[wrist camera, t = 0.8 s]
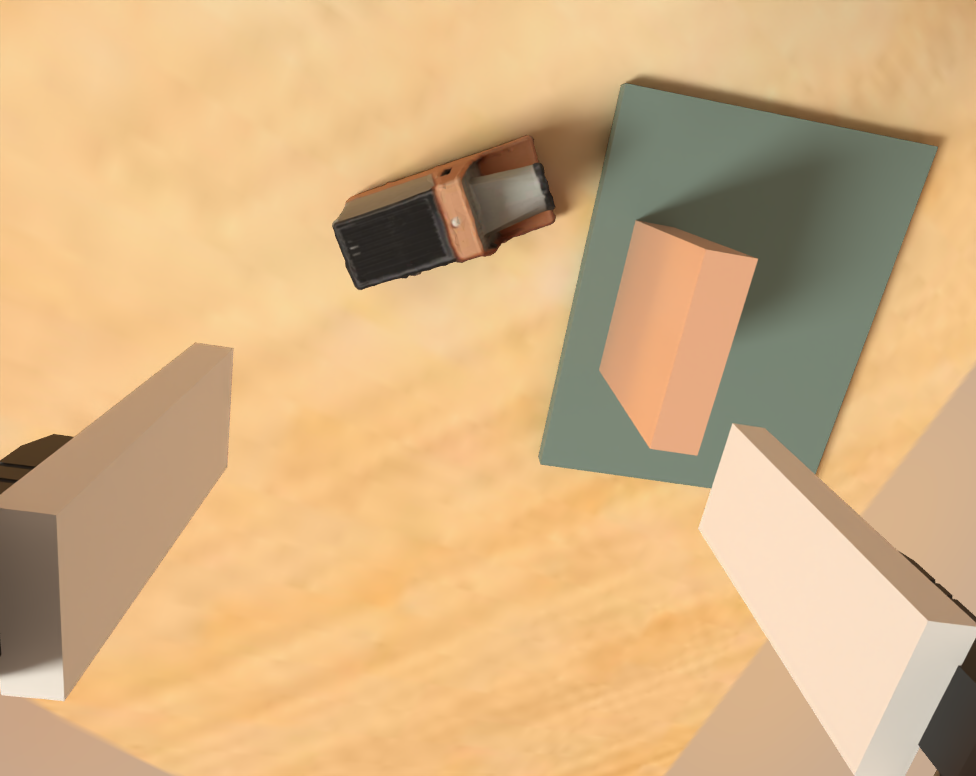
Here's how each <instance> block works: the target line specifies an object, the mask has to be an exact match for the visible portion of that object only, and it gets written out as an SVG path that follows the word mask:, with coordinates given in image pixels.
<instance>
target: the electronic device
mask: <svg viewBox="0 0 976 776" xmlns="http://www.w3.org/2000/svg"><path fill="white" fill-rule="evenodd" d="M533 142H534V139H533V138H532V137H531V136H527V135H525V136H523V137H521V138H519V139H516V140H513V141H510V142H508V143H505V144H503V145H500V146H497V147H494V148H491V149H488V150H485V151H482V152H480V153H477V154H474V155H470V156H467V157H464V158H461V159H458V160H455V161H452V162H450V163H447V164H444V165H439V166H436V167H434V168H432V169H430V170H427V171H424V172H421V173H418V174H415V175H412V176H409V177H406V178H404V179H401V180H398V181H395V182H388V183H387V184H386V185H384V186H381V187H378V188H375V189H372V190H369V191H366V192H363V193H360V194H357V195H354V196H352V197H350V198H349V199H348V200H347V201H346V204H345V207H344V209H343V211H342V213H341V214H340V216H339V217H338V218H337V219H336V220H335V221H334V222H333V225H332V227H333V229H334V232H335V236H336V239H337V241H338V244H339V247H340V249H341V252H342V254H343V257H344V259H345V264H346V268H347V270H348V272H349V274H350V276H351V278H352V281H353V283H354V286H355V287H356V288H357V289H358V290H363V289H365V288H368V287H371V286H375V285H378V284H380V283H384V282H387V281H391V280H394V279H399V278H407V277H408V276H409V275H410V276H416V275H418V274H421V272H422V271H427V270H431V269H433V268H436V267H439V266H446V265H448V264H450V263H453V262H457V263H458V262H459V263H463V262H464V261H467V260H470V259H474V258H477V257H481V256H484V257H486V256H491V255H492V254H494V253H495V252H496V251H497V249H498V247H499V246H500V245H501V244H502V243H505V242H507V241H508V240H510V239H511V238H513V237H517V236H520V235H524V234H526V233H528V232H530V231H533V230H537V229H539V228H542V227H545V226H548V225H551V224H553V223H554V222H555V218H556V217H555V214H554V213H553V211H552V210H553V209H554V208H555V205H554V202H553V197H552V195H551V193H550V191H549V186H548V181H547V180H546V178H545V175H544V168H543V166H542V164H541V163H539V162H538V159H537V155H536V151H535V147H534V143H533Z"/></svg>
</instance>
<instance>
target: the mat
mask: <svg viewBox="0 0 976 776" xmlns="http://www.w3.org/2000/svg"><path fill="white" fill-rule="evenodd" d="M937 149H938V147H937V146H932V145H927V144H922V143H917V142H912V141H907V140H902V139H897V138H892V137H887V136H882V135H878V134H873V133H868V132H863V131H858V130H853V129H848V128H843V127H838V126H833V125H828V124H824V123H819V122H814V121H809V120H804V119H799V118H794V117H789V116H784V115H779V114H774V113H769V112H765V111H760V110H755V109H750V108H745V107H740V106H735V105H730V104H725V103H720V102H715V101H711V100H706V99H701V98H696V97H691V96H686V95H681V94H676V93H671V92H666V91H661V90H656V89H652V88H647V87H642V86H637V85H632V84H627V83H626V84H623V85H621V88H620V92H619V97H618V101H617V106H616V110H615V115H614V119H613V124H612V128H611V133H610V137H609V142H608V146H607V151H606V155H605V160H604V164H603V169H602V173H601V178H600V182H599V187H598V191H597V196H596V200H595V205H594V209H593V214H592V218H591V223H590V227H589V232H588V236H587V241H586V245H585V249H584V254H583V258H582V263H581V267H580V272H579V276H578V281H577V285H576V290H575V294H574V299H573V303H572V308H571V312H570V317H569V321H568V326H567V330H566V335H565V339H564V344H563V348H562V353H561V357H560V362H559V366H558V371H557V375H556V380H555V384H554V389H553V393H552V398H551V402H550V407H549V411H548V416H547V420H546V425H545V429H544V434H543V438H542V443H541V447H540V452H539V456H538V457H539V461H540V464H541V465H548V466H556V467H563V468H570V469H577V470H584V471H591V472H598V473H606V474H613V475H620V476H627V477H634V478H641V479H648V480H656V481H663V482H670V483H677V484H684V485H691V486H698V487H706V488H712V485H713V482H714V479H715V476H716V473H717V470H718V467H719V463H720V460H721V457H722V454H723V451H724V448H725V445H726V442H727V439H728V436H729V432H730V429H731V426H732V423H734V424H741V425H748V426H754V427H761V428H765V429H766V430H767V431H768V432H769V433H771V434H772V435H773V436H774V437H775V438H776V439H777V440H778V441H779V442H780V443H781V444H783V445H784V446H785V447H786V448H787V449H788V450H789V451H790V452H791V453H792V454H793V455H794V456H796V457H797V458H798V459H799V460H800V461H801V462H802V463H803V464H804V465H805V466H806V467H807V468H809V469H810V470H811V471H812V472H813V473H814V474H816V471H817V468H818V466H819V463H820V460H821V458H822V455H823V452H824V450H825V447H826V444H827V442H828V439H829V436H830V434H831V431H832V428H833V426H834V423H835V420H836V418H837V415H838V412H839V410H840V407H841V404H842V402H843V399H844V396H845V394H846V391H847V388H848V386H849V383H850V380H851V378H852V375H853V372H854V370H855V367H856V365H857V362H858V359H859V357H860V354H861V351H862V349H863V346H864V343H865V341H866V338H867V335H868V333H869V330H870V327H871V325H872V322H873V319H874V317H875V314H876V311H877V309H878V306H879V303H880V301H881V298H882V295H883V293H884V290H885V287H886V285H887V282H888V279H889V277H890V274H891V271H892V269H893V266H894V263H895V261H896V258H897V255H898V253H899V250H900V247H901V245H902V242H903V239H904V237H905V234H906V231H907V229H908V226H909V223H910V221H911V218H912V215H913V213H914V210H915V207H916V205H917V202H918V199H919V197H920V194H921V191H922V189H923V186H924V183H925V181H926V178H927V175H928V173H929V170H930V167H931V165H932V162H933V159H934V157H935V154H936V152H937ZM635 220H637V221H643V222H648V223H654V224H659V225H665V226H670V227H675V228H677V229H680V230H683V231H685V232H688V233H691V234H693V235H696V236H699V237H701V238H704V239H707V240H709V241H712V242H715V243H717V244H720V245H723V246H725V247H728V248H731V249H733V250H736V251H739V252H742V253H744V254H747V255H750V256H752V257H755V258H758V261H757V264H756V268H755V271H754V274H753V277H752V280H751V284H750V287H749V290H748V293H747V297H746V300H745V303H744V306H743V310H742V313H741V316H740V319H739V323H738V326H737V329H736V332H735V336H734V339H733V342H732V345H731V349H730V352H729V355H728V358H727V362H726V365H725V368H724V371H723V375H722V378H721V381H720V384H719V388H718V391H717V394H716V397H715V401H714V404H713V407H712V410H711V413H710V417H709V420H708V423H707V426H706V430H705V433H704V436H703V439H702V443H701V446H700V449H699V452H698V456H696V455H689V454H683V453H676V452H669V451H662V450H655V449H650V448H649V447H648V445H647V443H646V442H645V440H644V439H643V437H642V436H641V434H640V433H639V431H638V430H637V428H636V427H635V425H634V423H633V422H632V420H631V419H630V417H629V416H628V414H627V413H626V411H625V410H624V408H623V406H622V405H621V403H620V402H619V400H618V399H617V397H616V396H615V394H614V393H613V391H612V389H611V388H610V386H609V385H608V383H607V382H606V380H605V379H604V377H603V376H602V374H601V372H600V371H599V368H600V364H601V360H602V356H603V352H604V348H605V343H606V339H607V335H608V331H609V327H610V323H611V319H612V315H613V311H614V307H615V302H616V298H617V294H618V290H619V286H620V282H621V278H622V274H623V270H624V266H625V261H626V257H627V253H628V249H629V245H630V241H631V237H632V233H633V229H634V225H635Z"/></svg>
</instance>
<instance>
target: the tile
mask: <svg viewBox="0 0 976 776" xmlns="http://www.w3.org/2000/svg"><path fill="white" fill-rule="evenodd" d="M757 261H758V258H755V257H752V256H750V255H747V254H744V253H742V252H739V251H736V250H733V249H731V248H728V247H725V246H723V245H720V244H717V243H715V242H712V241H709V240H707V239H704V238H701V237H699V236H696V235H693V234H691V233H688V232H685V231H683V230H680V229H677V228H675V227H670V226H665V225H659V224H654V223H648V222H643V221H637V220H635V225H634V229H633V233H632V237H631V241H630V245H629V249H628V253H627V257H626V261H625V266H624V270H623V274H622V278H621V282H620V286H619V290H618V294H617V298H616V302H615V307H614V311H613V315H612V319H611V323H610V327H609V331H608V335H607V339H606V343H605V348H604V352H603V356H602V360H601V364H600V368H599V371H600V372H601V374H602V376H603V377H604V379H605V380H606V382H607V383H608V385H609V386H610V388H611V389H612V391H613V393H614V394H615V396H616V397H617V399H618V400H619V402H620V403H621V405H622V406H623V408H624V410H625V411H626V413H627V414H628V416H629V417H630V419H631V420H632V422H633V423H634V425H635V427H636V428H637V430H638V431H639V433H640V434H641V436H642V437H643V439H644V440H645V442H646V443H647V445H648V447H649V448H650V449H655V450H662V451H669V452H676V453H683V454H689V455H696V456H698V452H699V449H700V446H701V443H702V439H703V436H704V433H705V430H706V426H707V423H708V420H709V417H710V413H711V410H712V407H713V404H714V401H715V397H716V394H717V391H718V388H719V384H720V381H721V378H722V375H723V371H724V368H725V365H726V362H727V358H728V355H729V352H730V349H731V345H732V342H733V339H734V336H735V332H736V329H737V326H738V323H739V319H740V316H741V313H742V310H743V306H744V303H745V300H746V297H747V293H748V290H749V287H750V284H751V280H752V277H753V274H754V271H755V268H756V264H757Z"/></svg>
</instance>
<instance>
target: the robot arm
mask: <svg viewBox="0 0 976 776" xmlns="http://www.w3.org/2000/svg"><path fill="white" fill-rule="evenodd" d="M232 366H233V348H228V347H222V346H215V345H208V344H202V343H194V344H193V345H192V346H190V347H189V348H188V349H186V350H185V351H184V352H183V353H181V354H180V355H179V356H178V357H176V358H175V359H174V360H172V361H171V362H170V363H169V364H167V365H166V366H165V367H163V368H162V369H161V370H160V371H158V372H157V373H156V374H154V375H153V376H152V377H151V378H149V379H148V380H147V381H145V382H144V383H143V384H142V385H140V386H139V387H138V388H136V389H135V390H134V391H133V392H131V393H130V394H129V395H127V396H126V397H125V398H124V399H122V400H121V401H120V402H119V403H117V404H116V405H115V406H113V407H112V408H111V409H110V410H108V411H107V412H106V413H104V414H103V415H102V416H101V417H99V418H98V419H97V420H95V421H94V422H93V423H92V424H90V425H89V426H88V427H86V428H85V429H84V430H83V431H81V432H80V433H79V434H77V435H76V436H75V437H71V436H64V435H56V434H53V435H50V436H47V437H44V438H42V439H39V440H36V441H33V442H31V443H28V444H25V445H22V446H20V447H19V448H17V449H16V450H15V451H13V452H12V453H10V454H9V455H7V456H6V457H5V458H3V459H2V460H0V687H1V695H7V696H17V697H28V698H39V699H49V700H60V701H65V699H66V698H67V696H68V695H69V694H70V692H71V691H72V689H73V688H74V686H75V685H76V683H77V682H78V681H79V679H80V678H81V676H82V675H83V673H84V672H85V671H86V669H87V668H88V666H89V665H90V663H91V662H92V660H93V659H94V658H95V656H96V655H97V653H98V652H99V650H100V649H101V648H102V646H103V645H104V643H105V642H106V640H107V639H108V637H109V636H110V635H111V633H112V632H113V630H114V629H115V627H116V626H117V625H118V623H119V622H120V620H121V619H122V617H123V616H124V614H125V613H126V612H127V610H128V609H129V607H130V606H131V604H132V603H133V602H134V600H135V599H136V597H137V596H138V594H139V593H140V591H141V590H142V589H143V587H144V586H145V584H146V583H147V581H148V580H149V578H150V577H151V576H152V574H153V573H154V571H155V570H156V568H157V567H158V566H159V564H160V563H161V561H162V560H163V558H164V557H165V555H166V554H167V553H168V551H169V550H170V548H171V547H172V545H173V544H174V543H175V541H176V540H177V538H178V537H179V535H180V534H181V532H182V531H183V530H184V528H185V527H186V525H187V524H188V522H189V521H190V520H191V518H192V517H193V515H194V514H195V512H196V511H197V509H198V508H199V507H200V505H201V504H202V502H203V501H204V499H205V498H206V497H207V495H208V494H209V492H210V491H211V489H212V488H213V486H214V485H215V484H216V482H217V481H218V479H219V478H220V476H221V475H222V474H223V472H224V471H225V469H226V468H227V462H228V443H229V423H230V404H231V385H232ZM699 531H700V532H701V534H702V535H703V537H704V539H705V540H706V542H707V543H708V545H709V547H710V548H711V550H712V551H713V553H714V554H715V556H716V558H717V559H718V561H719V562H720V564H721V566H722V567H723V569H724V570H725V572H726V573H727V575H728V577H729V578H730V580H731V581H732V583H733V585H734V586H735V588H736V589H737V591H738V592H739V594H740V596H741V597H742V599H743V600H744V602H745V604H746V605H747V607H748V608H749V610H750V611H751V613H752V615H753V616H754V618H755V619H756V621H757V623H758V624H759V626H760V627H761V629H762V630H763V632H764V634H765V635H766V637H767V638H768V640H769V642H770V643H771V644H772V646H773V648H774V649H775V651H776V653H777V654H778V656H779V657H780V659H781V660H782V662H783V664H784V665H785V667H786V668H787V670H788V672H789V673H790V675H791V676H792V678H793V679H794V681H795V683H796V684H797V686H798V687H799V689H800V691H801V692H802V694H803V695H804V697H805V699H806V700H807V702H808V703H809V705H810V706H811V708H812V710H813V711H814V712H815V714H816V716H817V717H818V719H819V721H820V722H821V724H822V725H823V727H824V728H825V730H826V732H827V733H828V735H829V736H830V738H831V740H832V741H833V743H834V744H835V746H836V748H837V749H838V751H839V752H840V754H841V755H842V757H843V759H844V760H845V762H846V763H847V765H848V767H849V768H850V770H851V771H852V773H853V774H854V776H905V775H906V773H907V771H908V769H909V767H910V765H911V763H912V761H913V759H914V757H915V755H916V753H917V751H918V749H919V747H920V748H921V749H922V751H923V752H924V753H925V754H926V756H927V757H928V758H929V760H930V761H931V762H932V763H933V765H934V766H935V767H936V769H937V771H936V772H935V774H934V776H976V617H975V616H974V615H973V614H972V613H971V612H970V611H969V610H968V609H967V608H966V607H964V606H963V605H962V604H961V603H960V602H959V601H958V600H955V599H952V595H951V594H950V593H949V592H948V591H947V590H946V589H945V588H944V587H942V586H941V585H940V584H937V583H935V579H934V578H933V577H932V576H930V575H929V574H928V573H927V572H926V571H925V570H924V569H923V568H922V567H920V566H919V565H918V564H917V563H916V562H915V561H914V560H912V559H910V558H909V557H907V556H906V555H904V554H902V553H901V552H899V551H898V550H896V549H895V548H894V547H893V546H892V545H891V544H890V543H889V542H888V541H887V540H886V539H885V538H883V537H882V536H881V535H880V534H879V533H878V532H877V531H876V530H875V529H874V528H872V527H871V526H870V525H869V524H868V523H867V522H866V521H865V520H864V519H863V518H862V517H861V516H860V515H858V514H857V513H856V512H855V511H854V510H853V509H852V508H851V507H850V506H849V505H848V504H847V503H845V502H844V501H843V500H842V499H841V498H840V497H839V496H838V495H837V494H836V493H835V492H834V491H832V490H831V489H830V488H829V487H828V486H827V485H826V484H825V483H824V482H823V481H822V480H820V479H819V478H818V477H817V476H816V475H815V474H814V473H813V472H812V471H811V470H810V469H809V468H807V467H806V466H805V465H804V464H803V463H802V462H801V461H800V460H799V459H798V458H797V457H796V456H794V455H793V454H792V453H791V452H790V451H789V450H788V449H787V448H786V447H785V446H784V445H783V444H781V443H780V442H779V441H778V440H777V439H776V438H775V437H774V436H773V435H772V434H771V433H769V432H768V431H767V430H766V429H765V428H761V427H754V426H748V425H741V424H734V423H732V426H731V429H730V432H729V436H728V439H727V442H726V445H725V448H724V451H723V454H722V457H721V460H720V463H719V467H718V470H717V473H716V476H715V479H714V482H713V485H712V488H711V491H710V494H709V498H708V501H707V504H706V507H705V510H704V513H703V516H702V519H701V522H700V525H699Z"/></svg>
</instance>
